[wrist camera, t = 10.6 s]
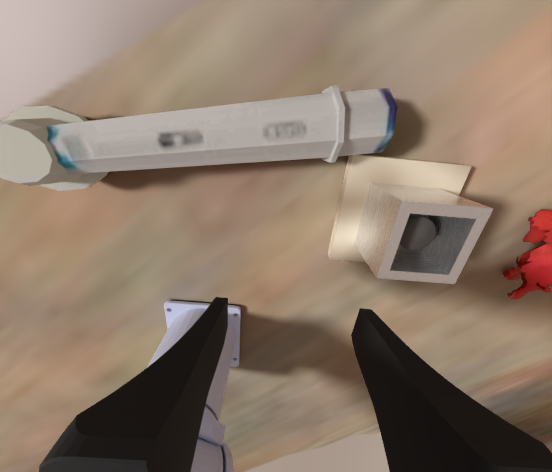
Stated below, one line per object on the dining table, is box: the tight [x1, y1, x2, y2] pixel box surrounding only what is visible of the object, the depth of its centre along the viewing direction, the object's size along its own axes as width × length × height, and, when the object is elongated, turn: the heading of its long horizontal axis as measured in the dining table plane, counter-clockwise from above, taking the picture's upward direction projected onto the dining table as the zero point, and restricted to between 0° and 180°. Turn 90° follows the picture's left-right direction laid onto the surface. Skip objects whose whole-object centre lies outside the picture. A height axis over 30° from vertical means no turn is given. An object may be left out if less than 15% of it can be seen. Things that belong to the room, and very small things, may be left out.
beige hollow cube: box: [354, 183, 493, 284], centre depth 16 cm, size 5×5×5 cm
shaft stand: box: [328, 154, 472, 262], centre depth 18 cm, size 9×9×4 cm
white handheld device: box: [0, 85, 397, 191], centre depth 15 cm, size 5×7×25 cm
